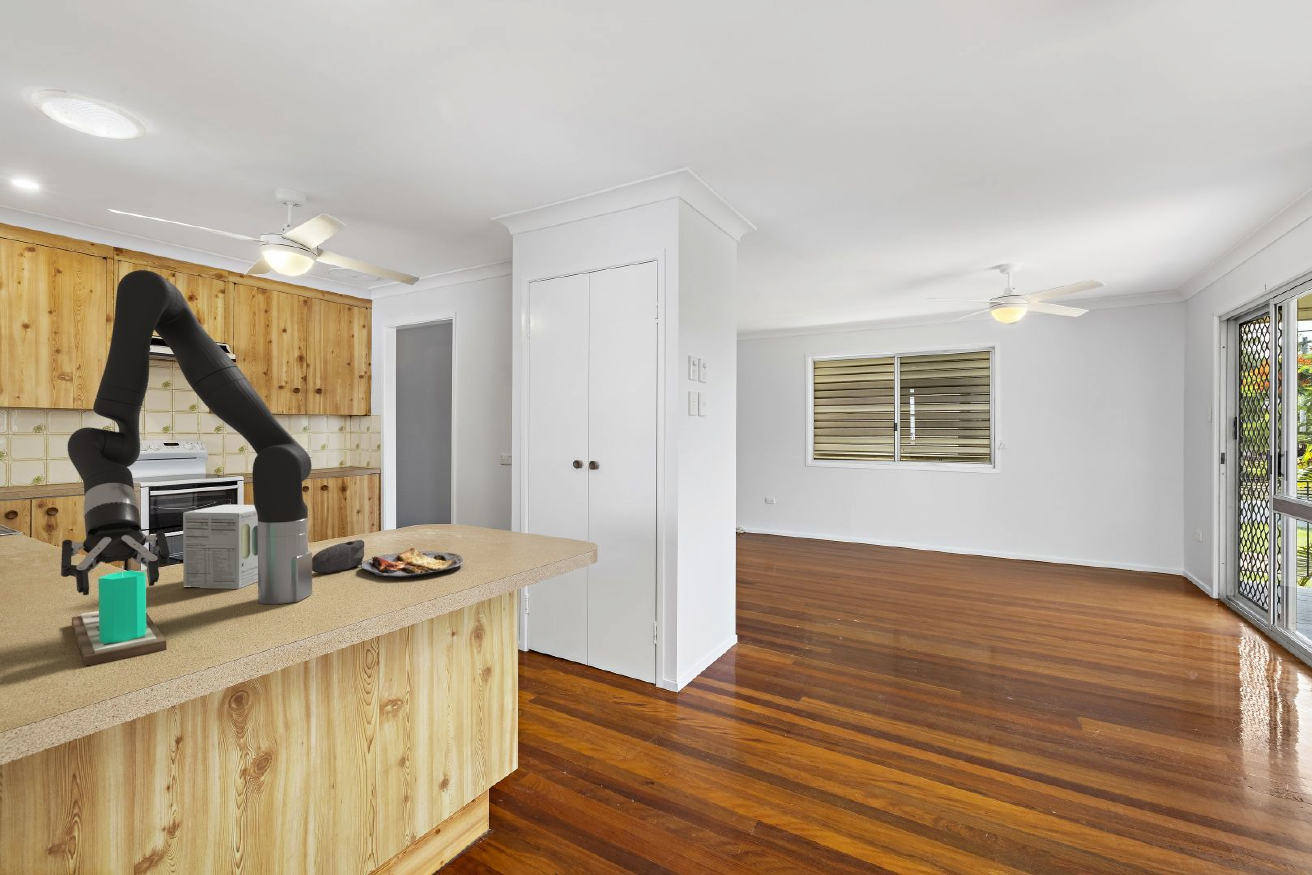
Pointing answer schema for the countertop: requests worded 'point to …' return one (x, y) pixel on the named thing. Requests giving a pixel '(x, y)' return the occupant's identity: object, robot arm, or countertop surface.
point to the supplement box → (220, 547)
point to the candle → (122, 606)
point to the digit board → (105, 652)
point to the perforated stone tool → (339, 557)
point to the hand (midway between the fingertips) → (120, 587)
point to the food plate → (412, 563)
